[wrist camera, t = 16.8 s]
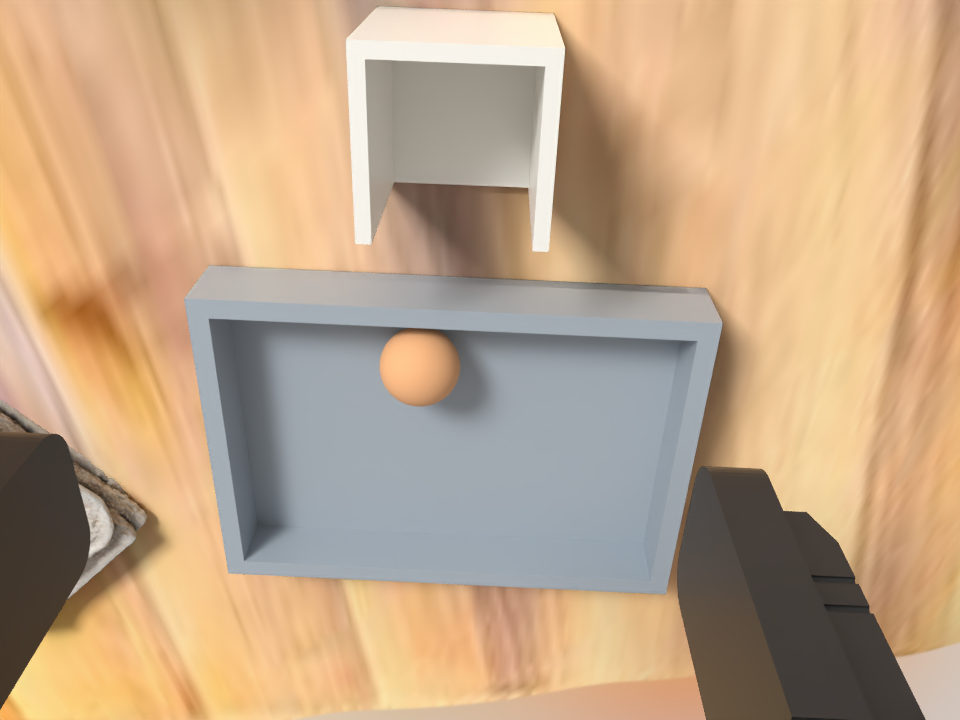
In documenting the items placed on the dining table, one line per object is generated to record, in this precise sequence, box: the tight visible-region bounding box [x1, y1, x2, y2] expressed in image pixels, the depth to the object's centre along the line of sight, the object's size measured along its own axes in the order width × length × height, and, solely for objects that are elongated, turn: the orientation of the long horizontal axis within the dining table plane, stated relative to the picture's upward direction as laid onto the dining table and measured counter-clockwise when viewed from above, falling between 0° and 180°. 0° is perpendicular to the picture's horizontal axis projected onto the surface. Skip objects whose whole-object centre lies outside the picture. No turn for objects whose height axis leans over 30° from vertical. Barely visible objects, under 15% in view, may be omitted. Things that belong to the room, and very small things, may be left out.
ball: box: [380, 328, 460, 407], centre depth 33 cm, size 3×3×3 cm
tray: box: [184, 265, 723, 594], centre depth 36 cm, size 20×14×3 cm
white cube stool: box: [346, 6, 565, 252], centre depth 27 cm, size 6×6×6 cm
